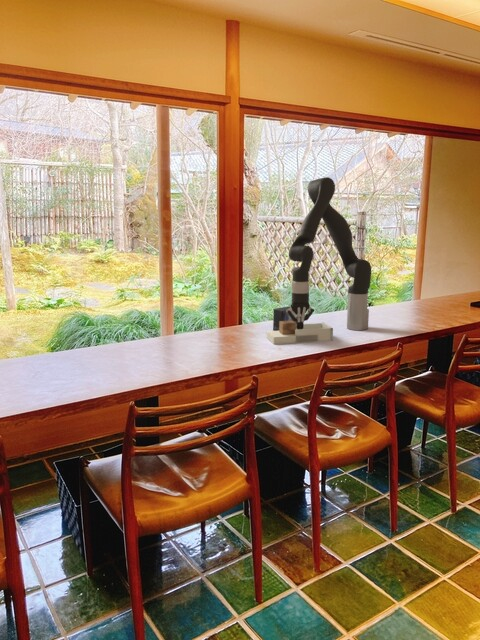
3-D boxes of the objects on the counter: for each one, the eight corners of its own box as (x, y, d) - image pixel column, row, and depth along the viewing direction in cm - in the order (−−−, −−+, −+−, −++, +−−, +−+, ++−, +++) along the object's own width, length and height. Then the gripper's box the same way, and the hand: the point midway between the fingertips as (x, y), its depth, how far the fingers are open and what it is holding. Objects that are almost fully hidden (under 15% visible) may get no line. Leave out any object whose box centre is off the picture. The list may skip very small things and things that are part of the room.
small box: (281, 332, 250) (282, 310, 248) (272, 330, 255) (272, 308, 253) (297, 329, 257) (298, 307, 255) (288, 327, 262) (288, 305, 260)
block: (292, 331, 239) (292, 320, 238) (295, 334, 235) (295, 322, 234) (279, 332, 238) (279, 321, 237) (282, 334, 233) (282, 323, 232)
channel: (323, 334, 246) (323, 322, 245) (332, 340, 236) (332, 328, 234) (266, 337, 241) (266, 325, 240) (273, 344, 230) (273, 331, 229)
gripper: (311, 289, 239) (310, 327, 242) (283, 290, 236) (283, 329, 239) (317, 292, 231) (316, 331, 235) (288, 293, 229) (288, 332, 232)
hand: (299, 329), depth 237 cm, fingers closed
